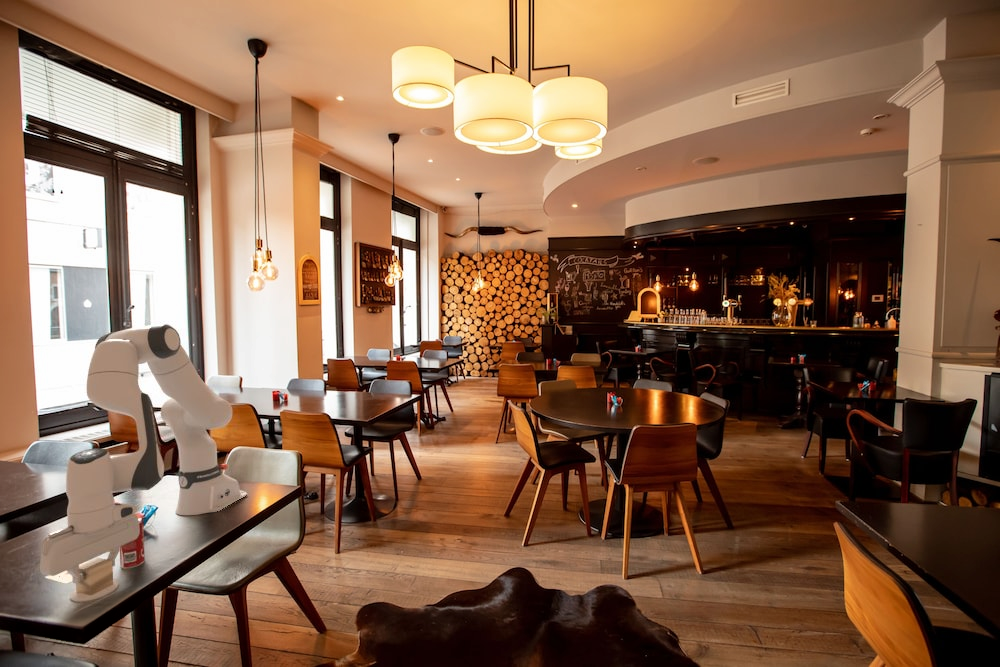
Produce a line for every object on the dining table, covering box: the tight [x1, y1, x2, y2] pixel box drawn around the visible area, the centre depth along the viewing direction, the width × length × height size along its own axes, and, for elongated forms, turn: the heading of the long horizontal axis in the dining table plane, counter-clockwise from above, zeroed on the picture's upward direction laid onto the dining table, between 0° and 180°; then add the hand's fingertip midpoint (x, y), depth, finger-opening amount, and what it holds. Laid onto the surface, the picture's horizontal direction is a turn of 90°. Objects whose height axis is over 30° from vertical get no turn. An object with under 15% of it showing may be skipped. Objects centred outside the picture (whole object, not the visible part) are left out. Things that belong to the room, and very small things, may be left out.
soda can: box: [119, 517, 146, 570], centre depth 131 cm, size 5×5×12 cm
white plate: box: [70, 578, 120, 603], centre depth 118 cm, size 9×9×1 cm
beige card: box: [44, 560, 89, 585], centre depth 127 cm, size 9×9×1 cm
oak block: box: [75, 557, 114, 595], centre depth 118 cm, size 5×5×6 cm
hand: (94, 574), depth 118 cm, fingers open, 5 cm apart
